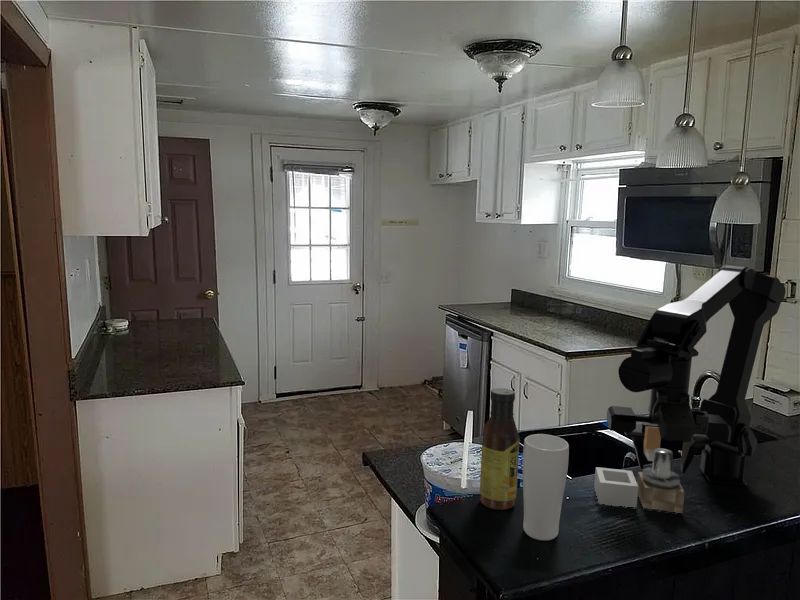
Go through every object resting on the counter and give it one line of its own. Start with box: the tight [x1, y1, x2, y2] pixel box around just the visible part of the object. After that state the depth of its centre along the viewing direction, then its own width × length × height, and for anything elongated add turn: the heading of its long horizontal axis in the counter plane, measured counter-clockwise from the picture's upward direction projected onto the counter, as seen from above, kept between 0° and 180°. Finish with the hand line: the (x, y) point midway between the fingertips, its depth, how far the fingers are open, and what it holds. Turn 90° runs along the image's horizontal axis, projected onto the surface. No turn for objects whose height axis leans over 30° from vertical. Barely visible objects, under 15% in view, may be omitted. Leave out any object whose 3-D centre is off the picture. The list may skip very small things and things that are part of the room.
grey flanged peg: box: [641, 447, 681, 490], centre depth 100 cm, size 6×6×9 cm
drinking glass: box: [521, 433, 570, 542], centre depth 90 cm, size 7×7×15 cm
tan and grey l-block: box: [644, 426, 662, 462], centre depth 107 cm, size 2×5×5 cm, turn 168°
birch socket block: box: [636, 471, 685, 514], centre depth 101 cm, size 6×6×4 cm
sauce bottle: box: [479, 387, 520, 511], centre depth 98 cm, size 7×6×20 cm
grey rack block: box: [593, 466, 638, 509], centre depth 102 cm, size 6×6×4 cm
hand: (661, 470), depth 100 cm, fingers open, 6 cm apart
